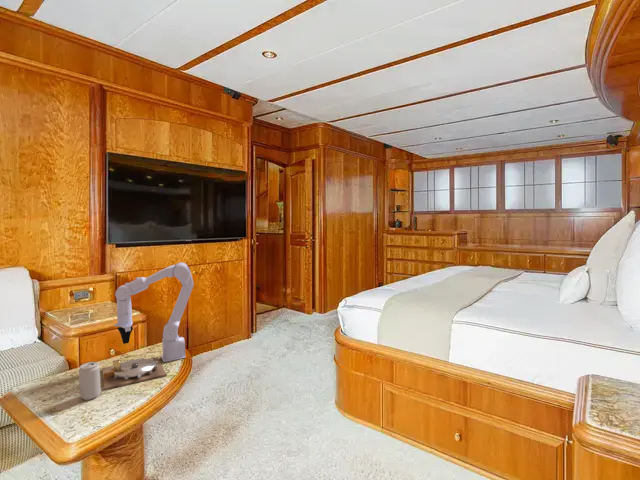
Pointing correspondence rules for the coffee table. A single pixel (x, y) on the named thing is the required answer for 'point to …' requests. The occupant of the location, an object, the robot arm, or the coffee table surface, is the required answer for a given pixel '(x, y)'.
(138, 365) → the sprocket wheel
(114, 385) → the walnut board
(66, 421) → the coffee table surface
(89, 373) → the beverage can
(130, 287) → the robot arm
